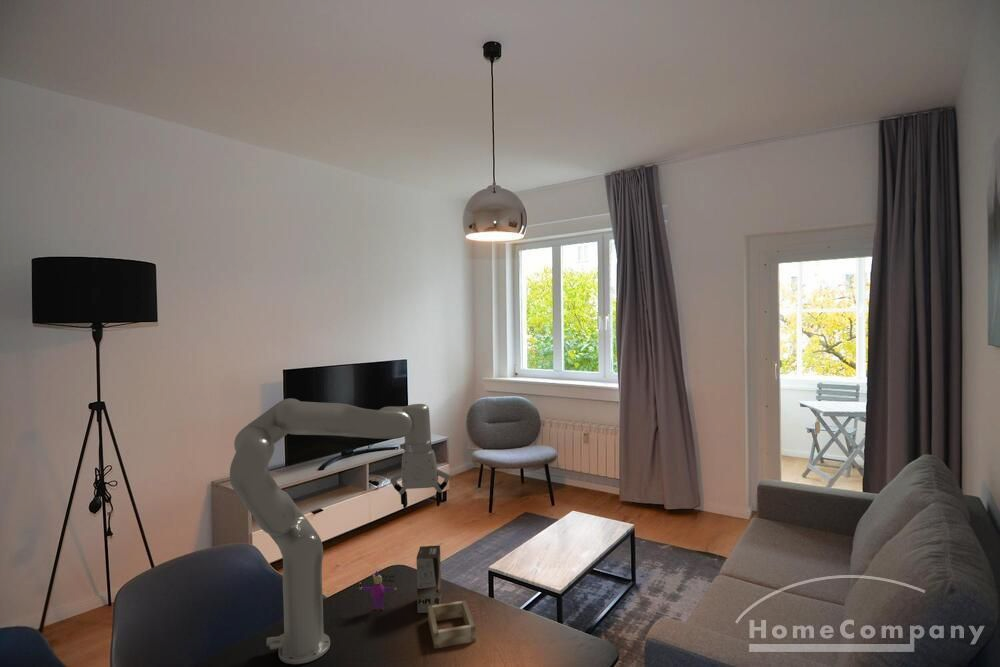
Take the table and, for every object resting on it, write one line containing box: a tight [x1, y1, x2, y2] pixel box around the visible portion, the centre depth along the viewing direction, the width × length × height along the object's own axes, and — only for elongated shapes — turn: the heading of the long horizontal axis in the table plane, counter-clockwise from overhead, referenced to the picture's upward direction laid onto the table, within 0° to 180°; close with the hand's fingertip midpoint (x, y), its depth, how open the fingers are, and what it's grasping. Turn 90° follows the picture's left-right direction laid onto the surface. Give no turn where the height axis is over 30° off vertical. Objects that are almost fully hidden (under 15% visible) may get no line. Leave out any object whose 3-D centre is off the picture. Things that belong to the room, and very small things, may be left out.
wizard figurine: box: [359, 570, 398, 611], centre depth 157 cm, size 11×3×12 cm, turn 85°
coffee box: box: [416, 545, 442, 614], centre depth 160 cm, size 9×6×16 cm
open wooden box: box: [427, 600, 477, 649], centre depth 147 cm, size 11×14×4 cm
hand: (422, 505), depth 156 cm, fingers open, 9 cm apart
